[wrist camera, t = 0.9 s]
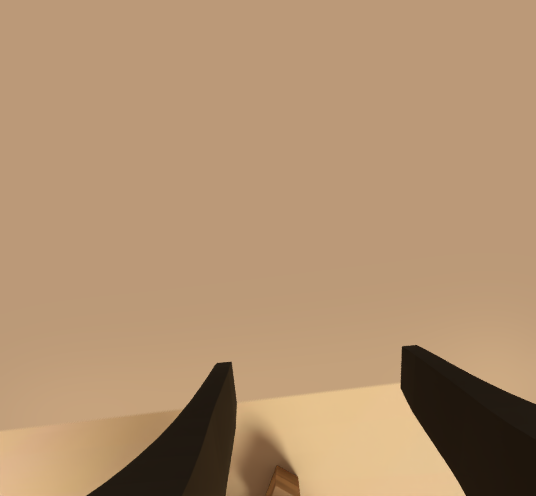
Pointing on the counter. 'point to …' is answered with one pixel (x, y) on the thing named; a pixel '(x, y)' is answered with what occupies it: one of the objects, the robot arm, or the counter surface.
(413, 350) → the robot arm
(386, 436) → the counter surface
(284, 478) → the brown flat bar
